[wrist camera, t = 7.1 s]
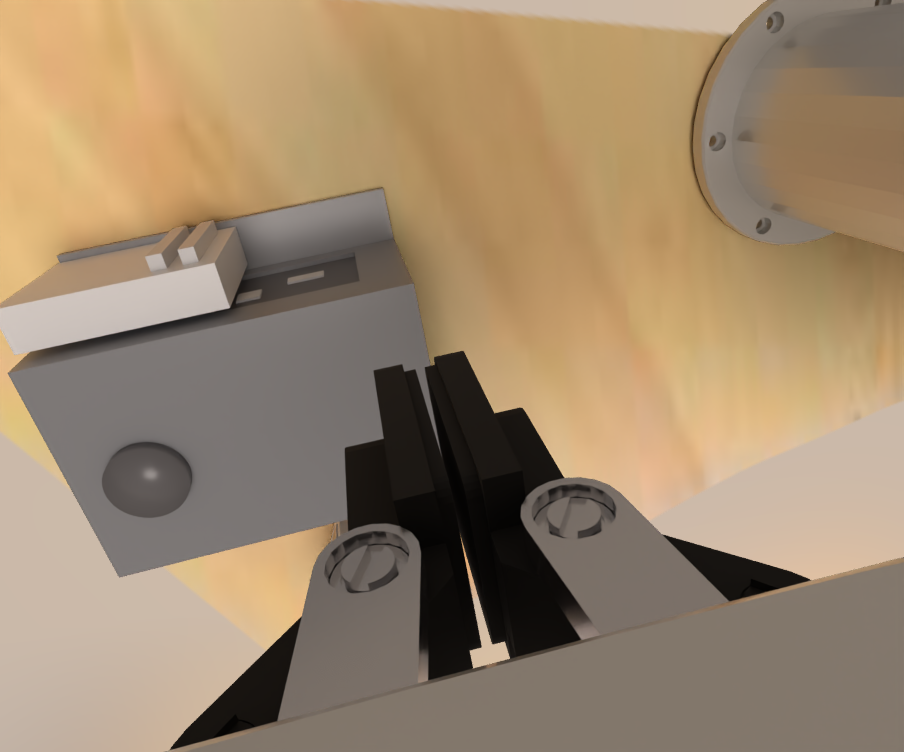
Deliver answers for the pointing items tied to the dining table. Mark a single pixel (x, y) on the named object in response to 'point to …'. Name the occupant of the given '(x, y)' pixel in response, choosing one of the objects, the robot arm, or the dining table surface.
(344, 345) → the camera case
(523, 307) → the dining table surface
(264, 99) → the dining table surface
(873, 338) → the dining table surface
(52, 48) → the dining table surface
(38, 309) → the door
